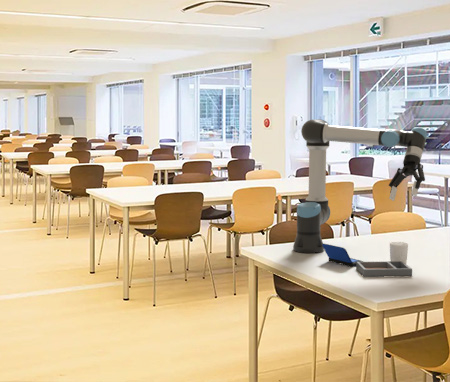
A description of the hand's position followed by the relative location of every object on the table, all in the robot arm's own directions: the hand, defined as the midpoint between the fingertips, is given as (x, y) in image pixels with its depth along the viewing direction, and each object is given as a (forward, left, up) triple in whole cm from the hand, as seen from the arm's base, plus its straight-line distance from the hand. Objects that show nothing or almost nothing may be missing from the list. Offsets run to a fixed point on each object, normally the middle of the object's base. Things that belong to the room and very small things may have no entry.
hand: (402, 197), depth 305 cm
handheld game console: (-28, -7, -30) cm, 41 cm away
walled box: (-15, -26, -29) cm, 42 cm away
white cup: (-5, -13, -29) cm, 32 cm away
